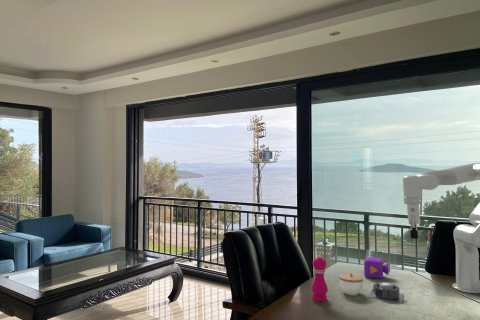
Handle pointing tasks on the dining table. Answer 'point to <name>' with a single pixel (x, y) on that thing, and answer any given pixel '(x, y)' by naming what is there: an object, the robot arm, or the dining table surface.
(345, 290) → the lidded jar
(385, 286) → the grey rounded dome
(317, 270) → the pepper mill
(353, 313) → the dining table surface
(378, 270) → the toy camera
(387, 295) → the lens barrel
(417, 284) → the dining table surface
